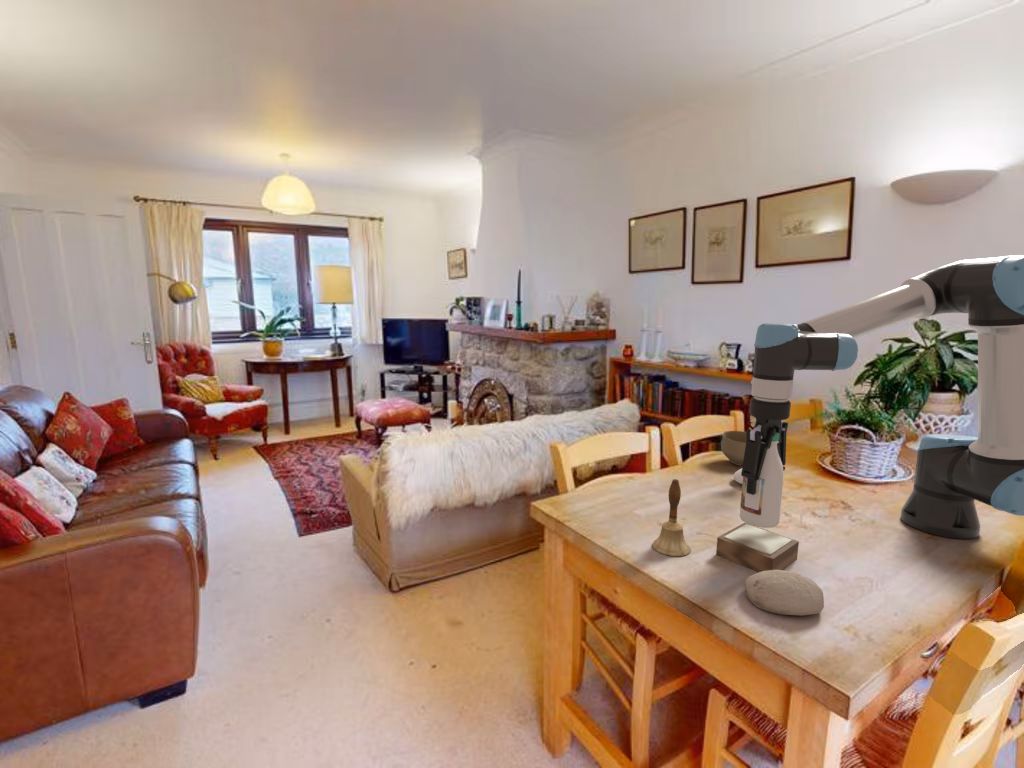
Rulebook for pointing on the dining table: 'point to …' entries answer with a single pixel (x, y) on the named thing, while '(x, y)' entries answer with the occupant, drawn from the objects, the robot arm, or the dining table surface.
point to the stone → (784, 593)
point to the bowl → (734, 446)
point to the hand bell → (672, 528)
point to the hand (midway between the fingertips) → (760, 502)
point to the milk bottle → (766, 491)
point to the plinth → (757, 548)
